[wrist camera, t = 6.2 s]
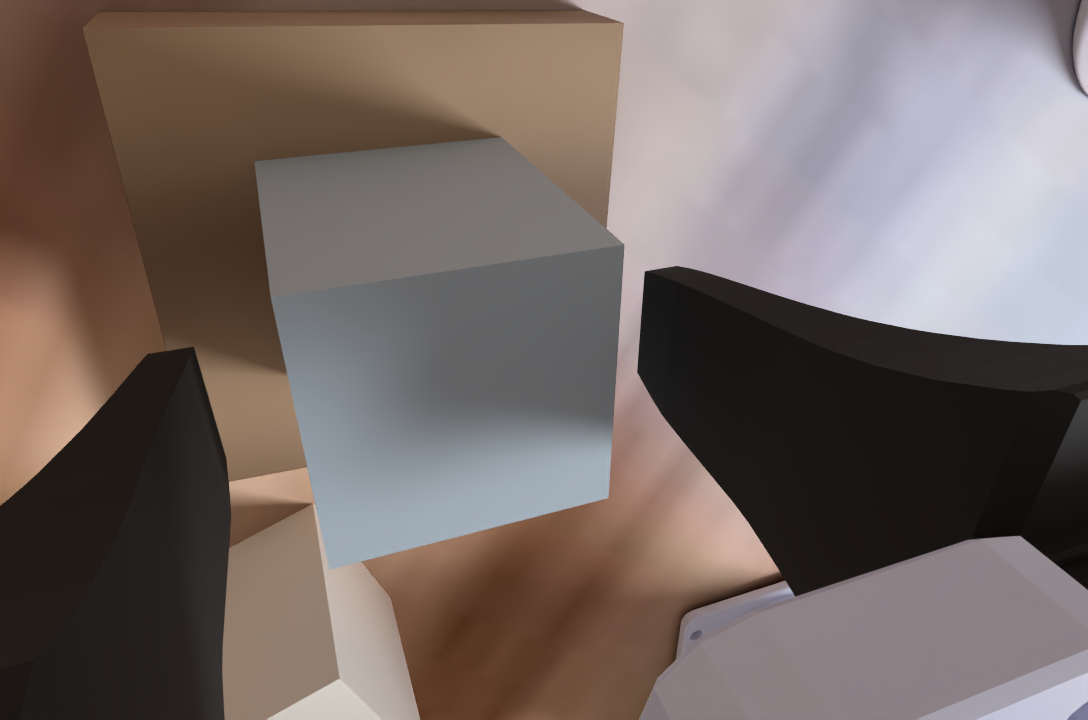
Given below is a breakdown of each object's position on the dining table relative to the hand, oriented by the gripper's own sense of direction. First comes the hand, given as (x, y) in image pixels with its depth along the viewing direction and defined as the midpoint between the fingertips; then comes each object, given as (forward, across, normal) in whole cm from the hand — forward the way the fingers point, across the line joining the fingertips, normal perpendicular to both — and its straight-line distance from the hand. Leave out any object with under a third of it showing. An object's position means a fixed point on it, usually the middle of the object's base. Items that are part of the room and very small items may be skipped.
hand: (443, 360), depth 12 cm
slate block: (+4, 0, 0) cm, 4 cm away
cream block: (+6, +4, +10) cm, 12 cm away
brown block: (+6, 0, 0) cm, 6 cm away
